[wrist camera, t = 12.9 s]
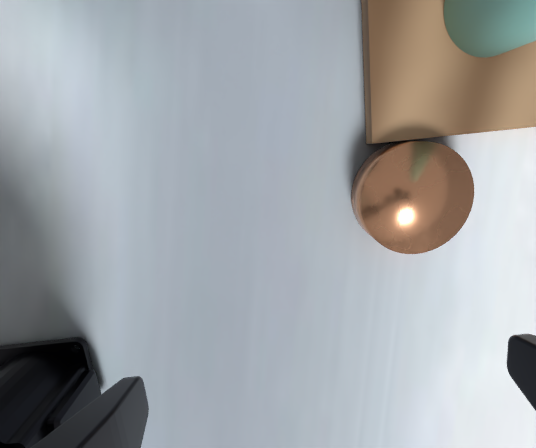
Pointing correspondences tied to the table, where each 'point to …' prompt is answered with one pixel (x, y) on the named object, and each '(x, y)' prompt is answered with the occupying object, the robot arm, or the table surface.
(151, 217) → the table surface
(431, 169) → the copper dome
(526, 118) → the board
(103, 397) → the robot arm
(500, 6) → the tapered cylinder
